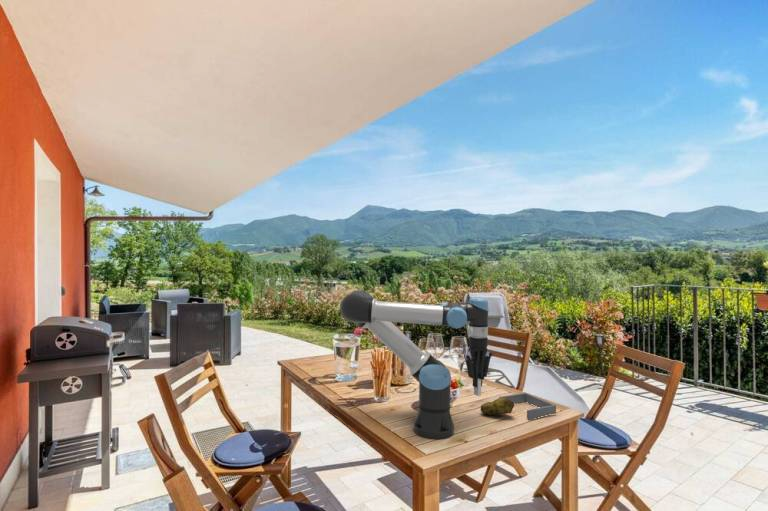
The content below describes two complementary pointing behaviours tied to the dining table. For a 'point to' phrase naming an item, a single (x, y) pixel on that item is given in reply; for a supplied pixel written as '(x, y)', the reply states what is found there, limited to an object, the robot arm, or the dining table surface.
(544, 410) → the box
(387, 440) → the dining table surface
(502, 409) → the potato
